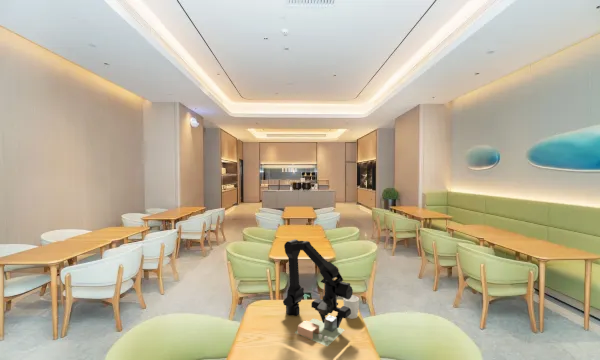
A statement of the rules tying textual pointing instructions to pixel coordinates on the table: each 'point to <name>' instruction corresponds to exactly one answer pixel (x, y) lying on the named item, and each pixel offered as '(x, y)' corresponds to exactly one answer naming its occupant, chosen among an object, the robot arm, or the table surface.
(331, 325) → the gray metal block
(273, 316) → the table surface
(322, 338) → the board
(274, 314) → the table surface
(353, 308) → the white cup
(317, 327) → the cover
